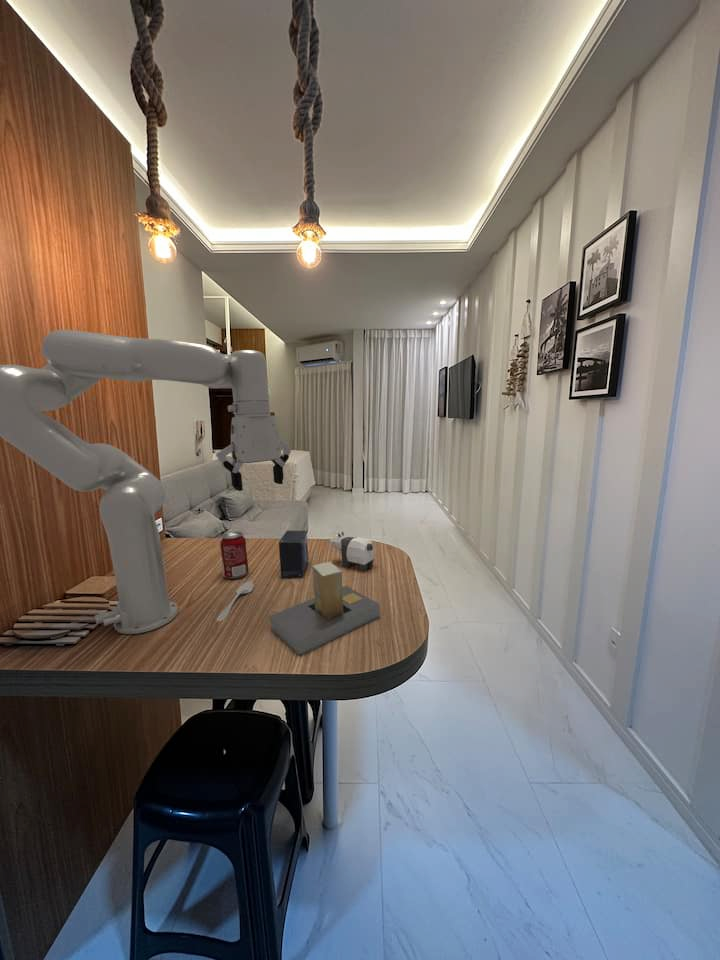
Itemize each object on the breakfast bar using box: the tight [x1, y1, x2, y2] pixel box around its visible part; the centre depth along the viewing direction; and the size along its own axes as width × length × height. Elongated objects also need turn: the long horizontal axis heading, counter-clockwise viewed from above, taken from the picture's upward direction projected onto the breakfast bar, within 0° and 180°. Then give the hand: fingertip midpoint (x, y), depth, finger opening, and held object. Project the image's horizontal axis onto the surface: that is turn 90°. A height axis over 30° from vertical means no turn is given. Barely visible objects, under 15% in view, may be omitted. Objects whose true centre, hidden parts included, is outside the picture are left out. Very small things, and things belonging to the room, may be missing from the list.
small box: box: [278, 530, 309, 579], centre depth 108 cm, size 11×6×10 cm, turn 179°
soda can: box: [219, 531, 249, 580], centre depth 106 cm, size 7×7×12 cm
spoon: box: [216, 580, 255, 622], centre depth 90 cm, size 4×21×2 cm, turn 173°
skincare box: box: [312, 561, 343, 621], centre depth 80 cm, size 6×4×12 cm
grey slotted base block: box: [269, 585, 381, 656], centre depth 81 cm, size 20×12×3 cm, turn 129°
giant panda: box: [329, 531, 375, 573], centre depth 110 cm, size 15×6×10 cm, turn 56°
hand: (259, 486), depth 86 cm, fingers open, 9 cm apart
